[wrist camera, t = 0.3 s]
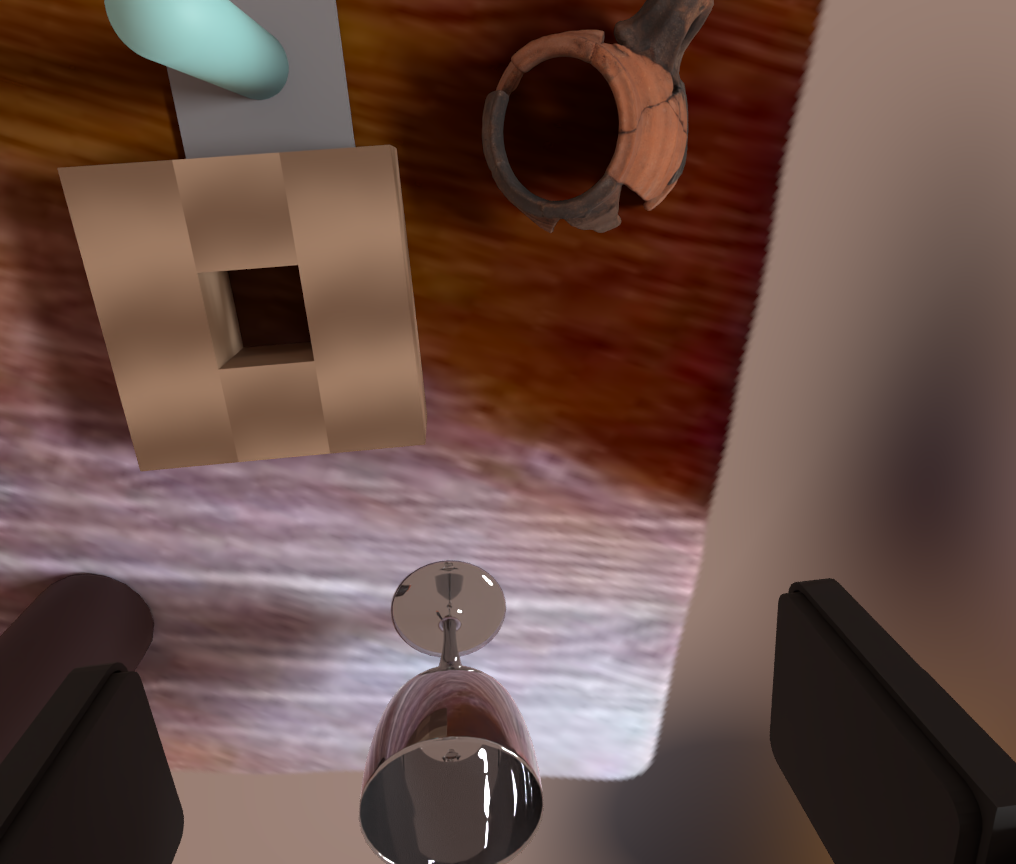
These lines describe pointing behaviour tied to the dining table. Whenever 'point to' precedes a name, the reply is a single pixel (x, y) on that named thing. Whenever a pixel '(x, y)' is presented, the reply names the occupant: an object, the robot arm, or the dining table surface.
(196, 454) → the hole block
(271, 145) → the mat
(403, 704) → the wine glass
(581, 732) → the dining table surface
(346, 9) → the dining table surface
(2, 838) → the robot arm
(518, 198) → the brown hollow rounded piece
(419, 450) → the dining table surface
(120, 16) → the peg
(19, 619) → the bottle
